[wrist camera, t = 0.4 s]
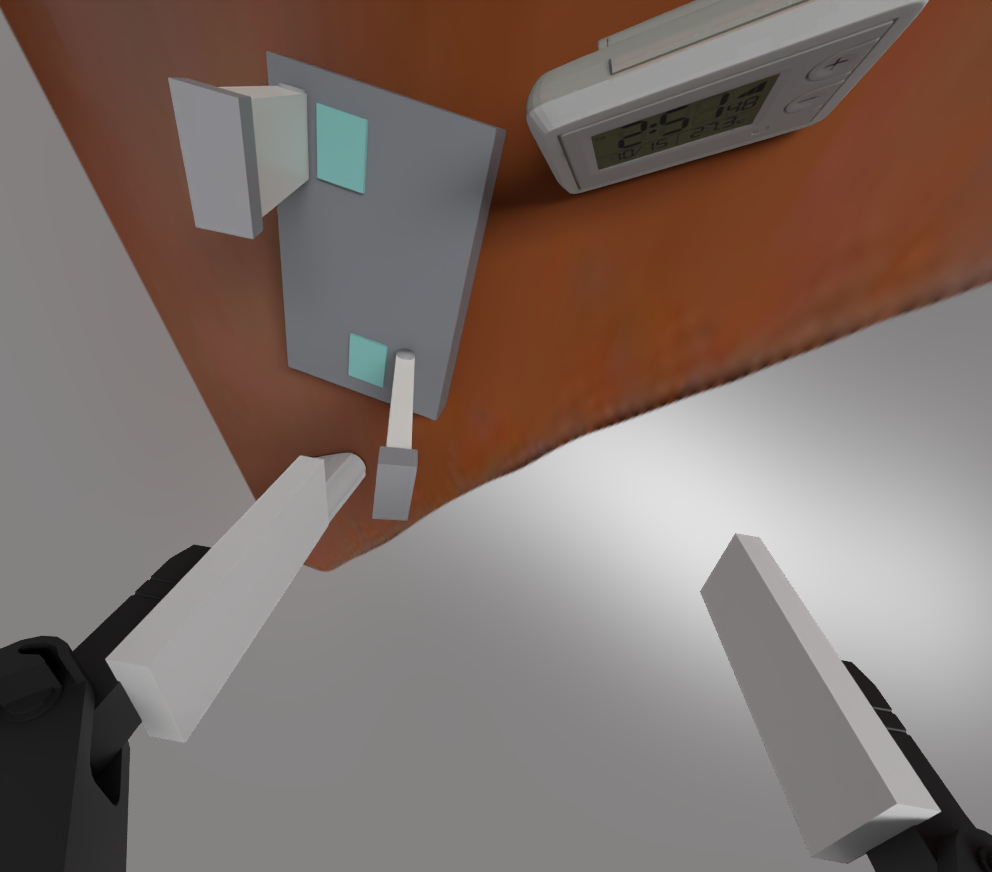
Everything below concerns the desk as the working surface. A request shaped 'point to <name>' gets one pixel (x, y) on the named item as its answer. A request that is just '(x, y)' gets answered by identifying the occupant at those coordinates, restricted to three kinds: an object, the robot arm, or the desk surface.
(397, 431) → the lever
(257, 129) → the lever
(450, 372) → the switch unit
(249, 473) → the desk surface
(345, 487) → the photo printer
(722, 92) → the digital clock
